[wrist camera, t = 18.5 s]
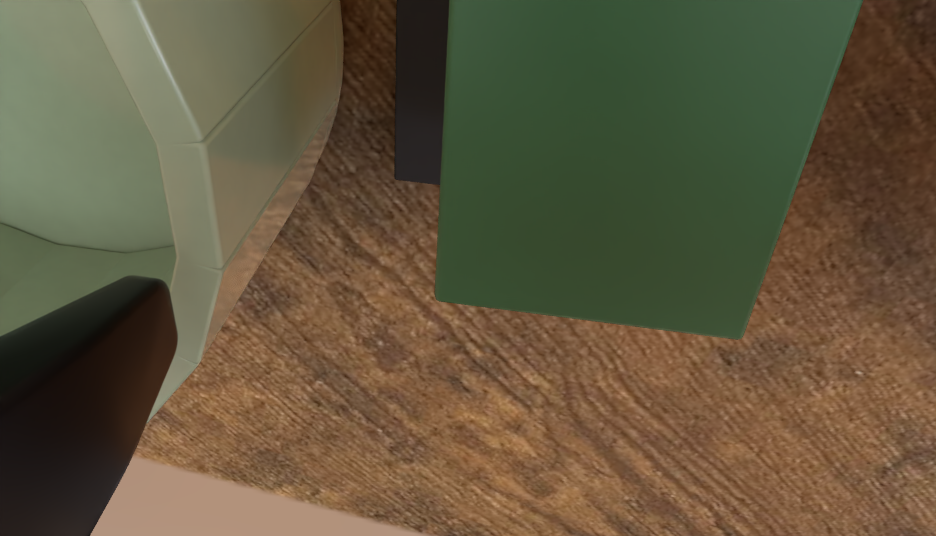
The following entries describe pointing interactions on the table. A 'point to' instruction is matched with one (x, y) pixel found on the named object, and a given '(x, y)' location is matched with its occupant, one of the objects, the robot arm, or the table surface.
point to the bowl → (157, 148)
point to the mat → (420, 88)
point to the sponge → (627, 153)
